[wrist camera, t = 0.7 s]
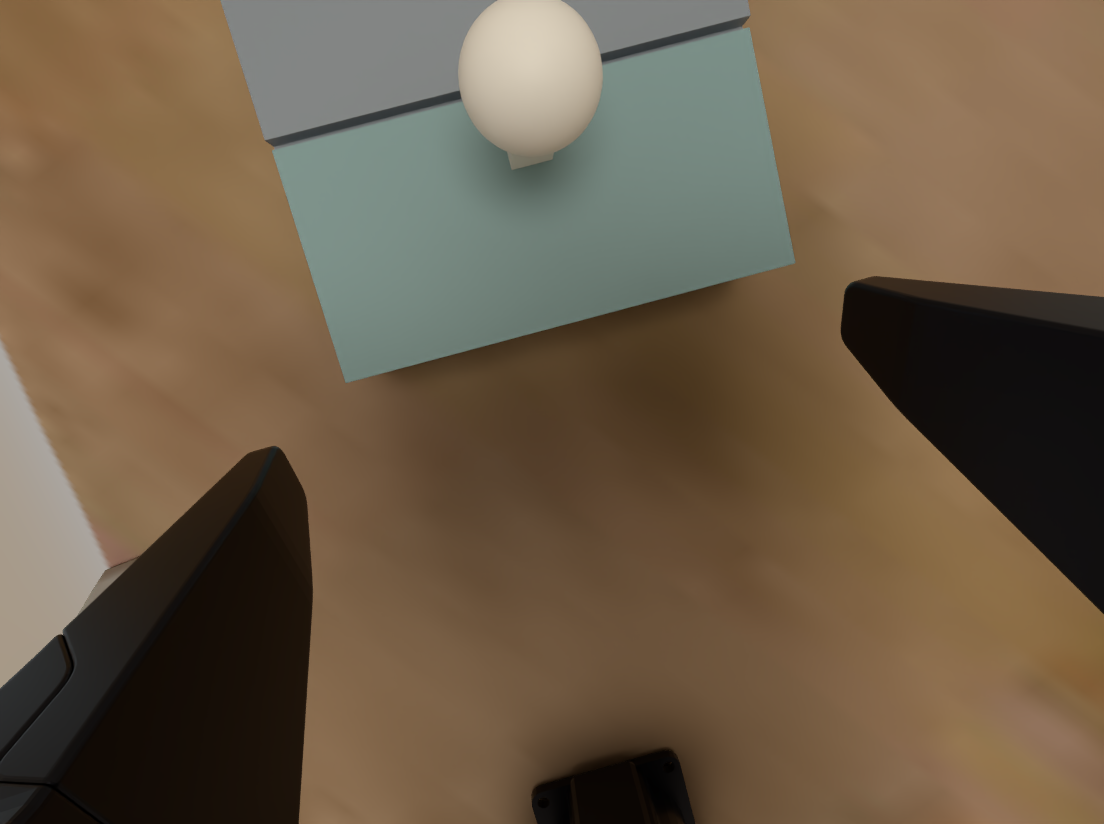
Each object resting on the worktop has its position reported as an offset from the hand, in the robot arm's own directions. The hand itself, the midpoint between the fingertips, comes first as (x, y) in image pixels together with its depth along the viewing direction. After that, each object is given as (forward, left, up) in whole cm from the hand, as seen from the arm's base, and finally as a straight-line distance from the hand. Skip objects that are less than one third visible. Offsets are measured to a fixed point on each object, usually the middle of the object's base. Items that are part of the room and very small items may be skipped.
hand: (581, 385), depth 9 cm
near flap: (+4, -1, -10) cm, 10 cm away
